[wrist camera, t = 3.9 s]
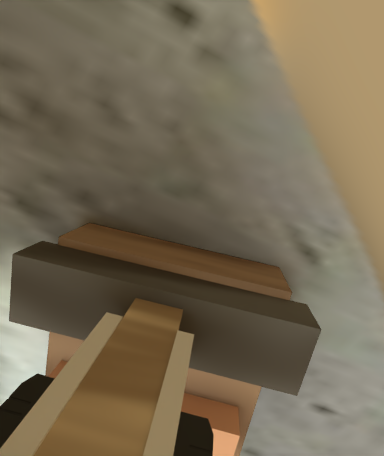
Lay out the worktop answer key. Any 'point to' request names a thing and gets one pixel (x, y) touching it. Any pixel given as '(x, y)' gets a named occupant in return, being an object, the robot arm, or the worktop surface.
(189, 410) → the tile
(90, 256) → the scraper
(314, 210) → the worktop surface
